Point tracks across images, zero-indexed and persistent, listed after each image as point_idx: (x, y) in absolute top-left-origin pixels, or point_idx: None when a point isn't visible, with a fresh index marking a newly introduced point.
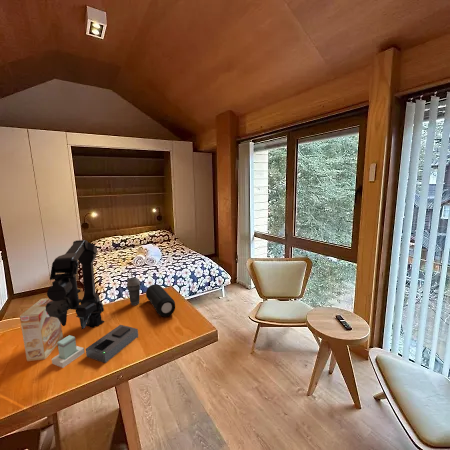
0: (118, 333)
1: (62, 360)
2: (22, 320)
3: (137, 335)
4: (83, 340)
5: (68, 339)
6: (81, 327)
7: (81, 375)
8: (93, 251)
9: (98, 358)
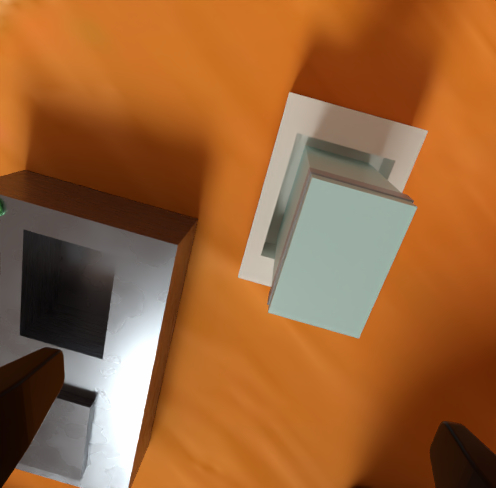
0: None
1: (310, 122)
2: None
3: None
4: (349, 381)
5: (309, 264)
6: (32, 364)
7: (102, 43)
8: None
9: (69, 192)
